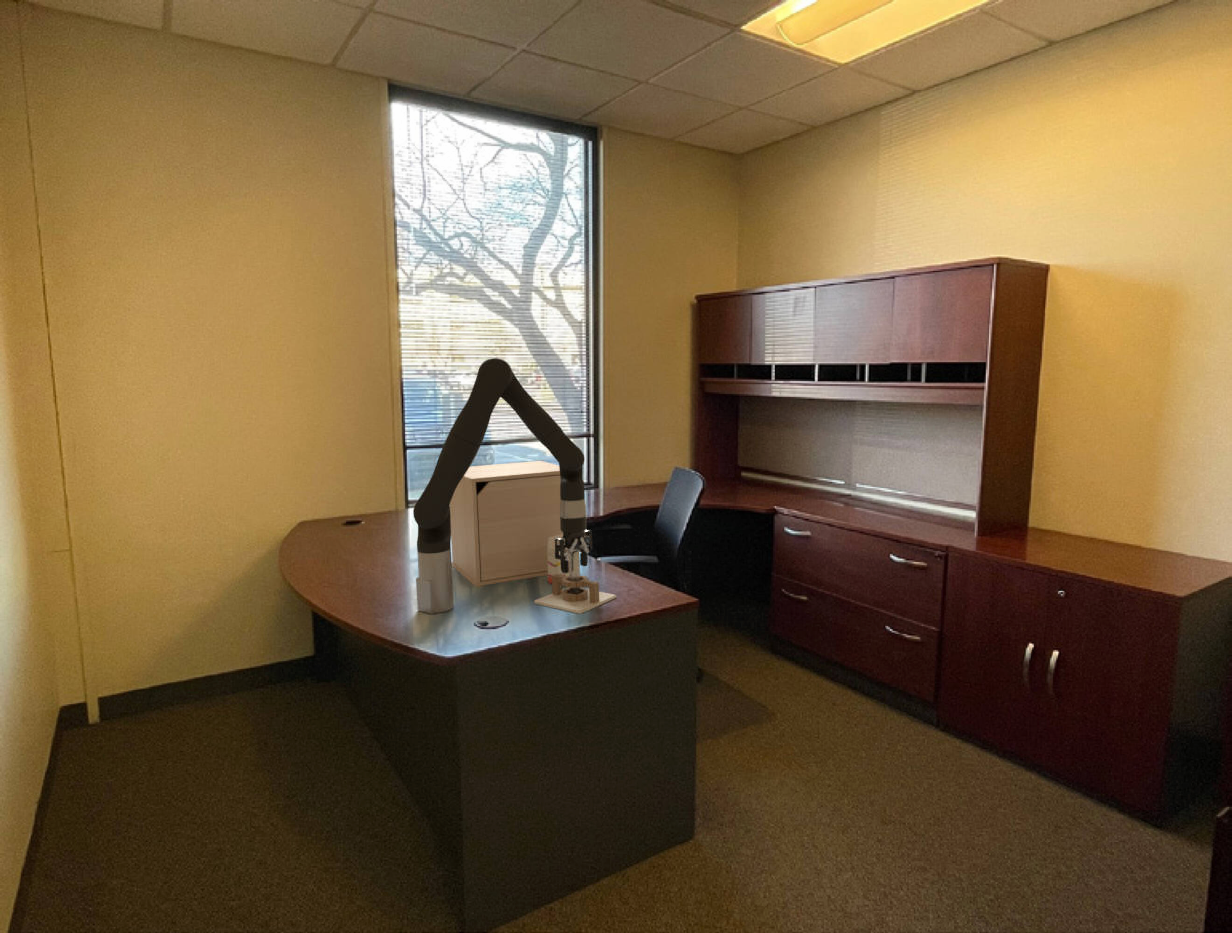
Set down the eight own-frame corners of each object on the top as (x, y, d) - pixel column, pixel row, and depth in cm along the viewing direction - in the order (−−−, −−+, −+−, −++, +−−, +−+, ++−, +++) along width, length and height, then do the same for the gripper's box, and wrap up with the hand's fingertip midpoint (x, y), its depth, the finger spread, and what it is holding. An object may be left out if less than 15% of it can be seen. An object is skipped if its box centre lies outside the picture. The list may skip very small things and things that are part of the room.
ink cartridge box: (559, 585, 226) (557, 539, 224) (547, 583, 229) (546, 537, 227) (577, 579, 232) (576, 534, 230) (566, 576, 236) (564, 532, 234)
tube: (576, 600, 209) (574, 553, 207) (568, 598, 210) (566, 551, 209) (582, 597, 211) (581, 550, 209) (574, 595, 213) (573, 549, 211)
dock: (579, 613, 199) (579, 591, 198) (534, 603, 209) (533, 581, 208) (616, 597, 213) (615, 576, 212) (571, 588, 223) (571, 567, 222)
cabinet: (475, 586, 227) (470, 478, 222) (451, 565, 253) (446, 468, 248) (576, 570, 243) (573, 469, 238) (544, 552, 269) (541, 460, 264)
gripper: (578, 509, 215) (580, 562, 218) (546, 517, 204) (548, 573, 206) (598, 511, 211) (599, 565, 213) (567, 520, 200) (568, 577, 202)
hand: (574, 569), depth 210 cm, fingers open, 8 cm apart
